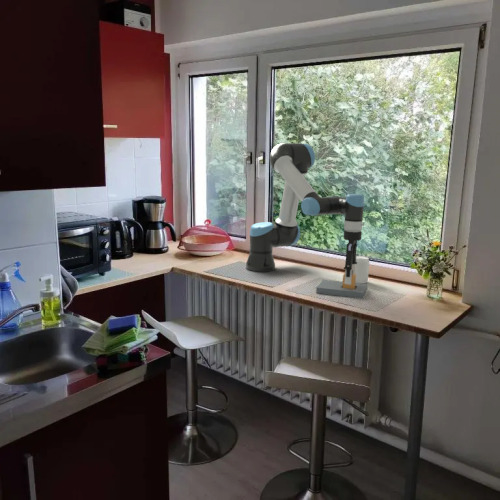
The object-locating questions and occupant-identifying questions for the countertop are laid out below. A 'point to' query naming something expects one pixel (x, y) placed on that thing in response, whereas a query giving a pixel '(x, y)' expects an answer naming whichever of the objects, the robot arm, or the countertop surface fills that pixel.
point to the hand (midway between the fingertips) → (349, 281)
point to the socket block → (340, 289)
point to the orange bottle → (353, 282)
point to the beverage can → (362, 269)
